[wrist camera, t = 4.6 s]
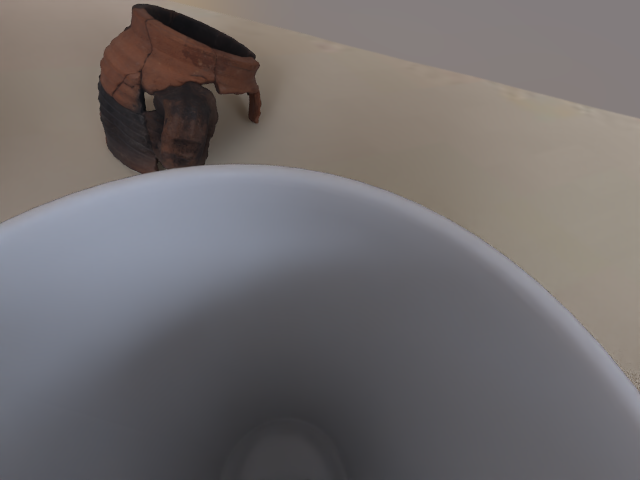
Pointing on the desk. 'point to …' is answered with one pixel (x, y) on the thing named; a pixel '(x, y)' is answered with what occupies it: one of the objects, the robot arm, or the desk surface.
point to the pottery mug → (169, 88)
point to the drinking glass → (289, 341)
